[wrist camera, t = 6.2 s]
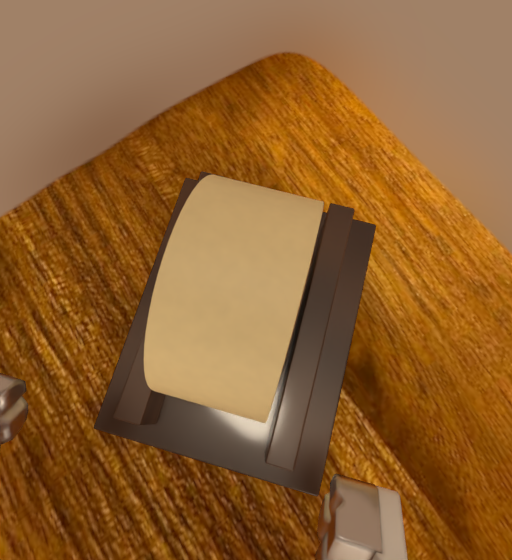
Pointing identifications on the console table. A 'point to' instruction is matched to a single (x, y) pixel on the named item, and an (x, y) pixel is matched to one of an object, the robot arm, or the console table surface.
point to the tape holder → (293, 381)
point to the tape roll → (230, 295)
